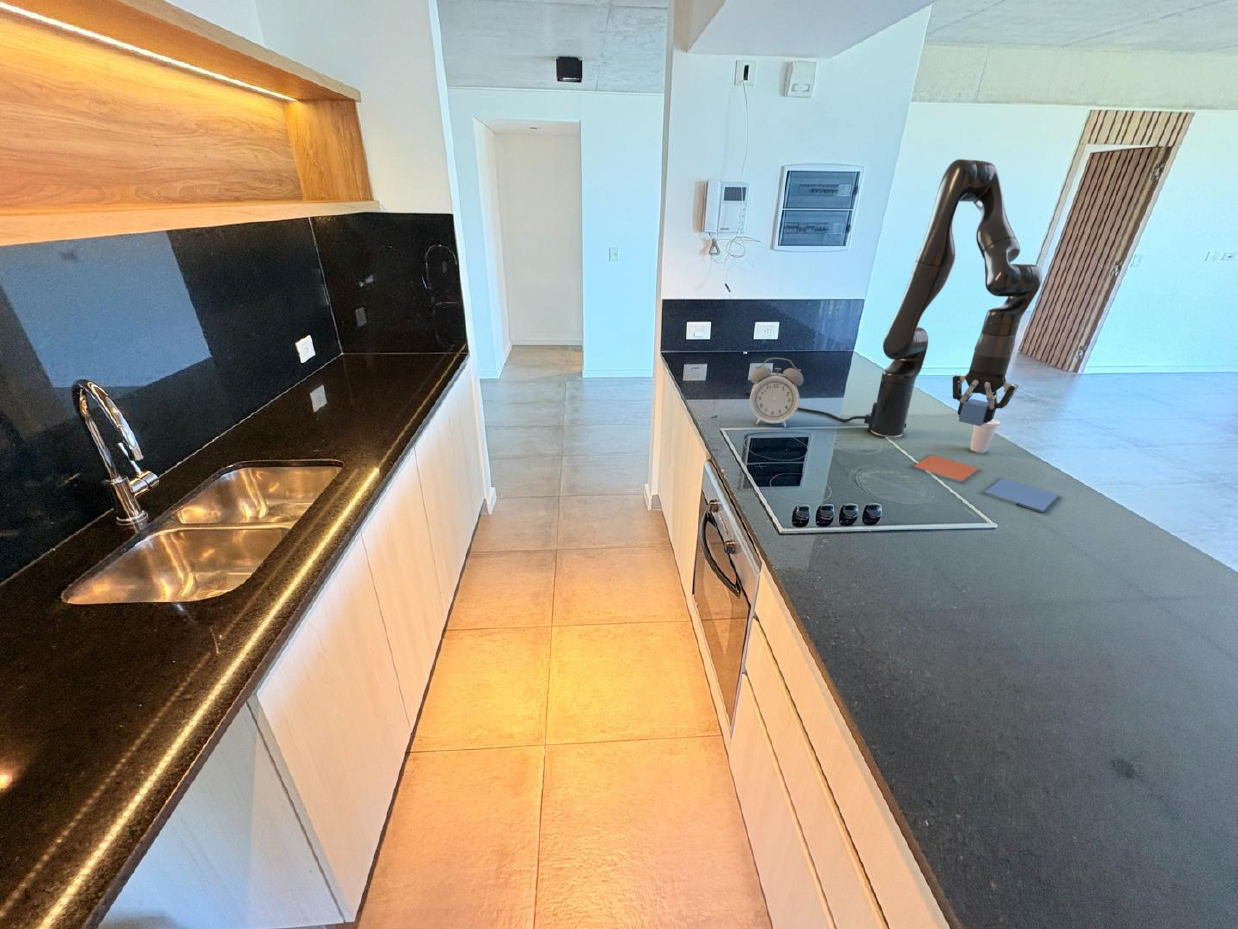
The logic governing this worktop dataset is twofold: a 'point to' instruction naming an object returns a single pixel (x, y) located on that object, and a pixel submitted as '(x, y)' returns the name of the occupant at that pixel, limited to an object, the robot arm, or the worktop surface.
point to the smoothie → (983, 435)
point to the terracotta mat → (946, 467)
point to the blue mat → (1023, 495)
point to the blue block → (974, 412)
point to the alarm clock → (775, 393)
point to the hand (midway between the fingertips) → (973, 419)
